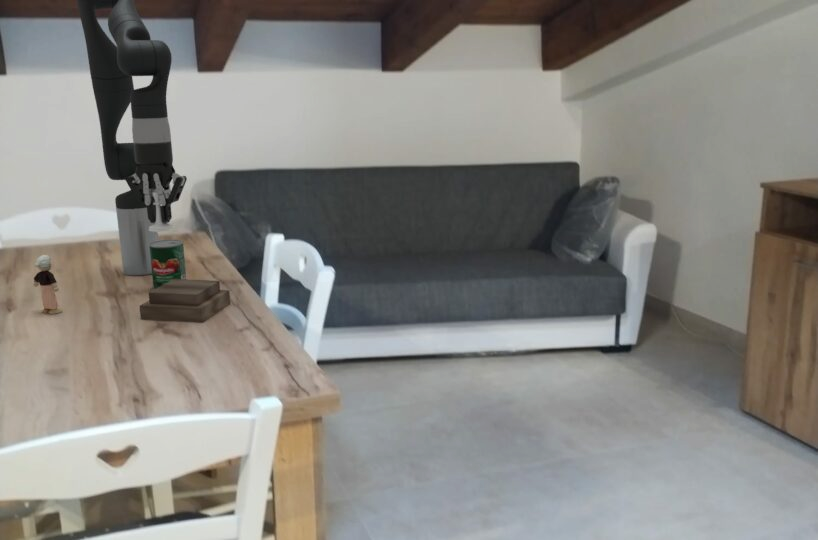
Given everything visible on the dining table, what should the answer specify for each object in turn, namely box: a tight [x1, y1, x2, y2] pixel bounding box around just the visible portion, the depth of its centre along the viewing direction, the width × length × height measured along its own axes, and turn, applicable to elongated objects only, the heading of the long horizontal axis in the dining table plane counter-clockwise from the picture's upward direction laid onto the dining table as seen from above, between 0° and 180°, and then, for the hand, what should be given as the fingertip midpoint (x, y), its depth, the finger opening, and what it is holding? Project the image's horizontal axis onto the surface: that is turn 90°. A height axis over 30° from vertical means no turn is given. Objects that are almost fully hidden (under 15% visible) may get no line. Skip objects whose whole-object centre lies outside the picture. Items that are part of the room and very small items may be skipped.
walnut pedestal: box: [139, 278, 231, 323], centre depth 173 cm, size 14×14×6 cm
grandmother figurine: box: [33, 254, 63, 315], centre depth 173 cm, size 8×4×13 cm, turn 71°
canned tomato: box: [149, 239, 187, 290], centre depth 191 cm, size 8×8×11 cm
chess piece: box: [149, 189, 174, 233], centre depth 168 cm, size 5×5×10 cm
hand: (160, 222), depth 169 cm, fingers closed on chess piece
